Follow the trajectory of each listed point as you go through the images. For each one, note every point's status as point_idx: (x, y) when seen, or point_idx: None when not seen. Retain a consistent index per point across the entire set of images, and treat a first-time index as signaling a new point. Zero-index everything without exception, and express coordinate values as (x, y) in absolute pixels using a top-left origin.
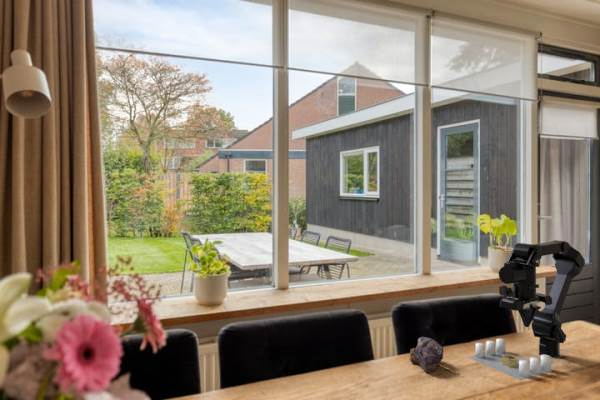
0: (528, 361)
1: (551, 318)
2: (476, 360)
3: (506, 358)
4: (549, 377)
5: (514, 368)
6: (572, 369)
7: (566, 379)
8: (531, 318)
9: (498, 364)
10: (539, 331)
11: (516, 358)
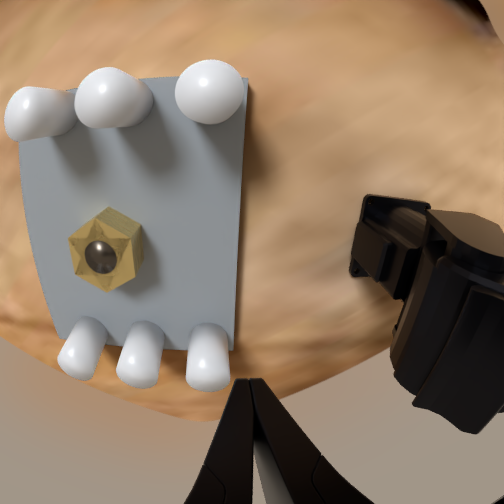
0: (90, 373)
1: (456, 418)
2: (22, 145)
3: (74, 260)
4: (186, 350)
5: None
6: (325, 340)
7: None
8: (264, 490)
9: (68, 219)
10: (411, 300)
11: (119, 281)
